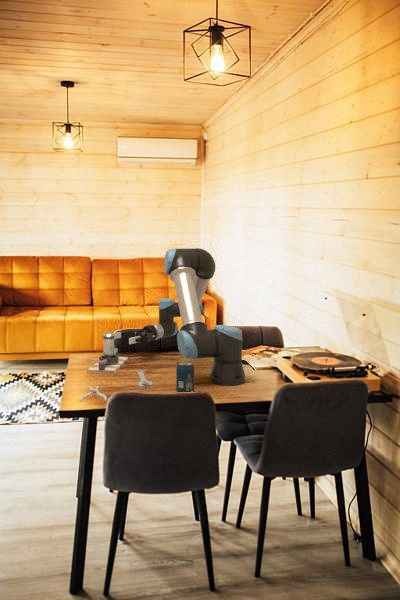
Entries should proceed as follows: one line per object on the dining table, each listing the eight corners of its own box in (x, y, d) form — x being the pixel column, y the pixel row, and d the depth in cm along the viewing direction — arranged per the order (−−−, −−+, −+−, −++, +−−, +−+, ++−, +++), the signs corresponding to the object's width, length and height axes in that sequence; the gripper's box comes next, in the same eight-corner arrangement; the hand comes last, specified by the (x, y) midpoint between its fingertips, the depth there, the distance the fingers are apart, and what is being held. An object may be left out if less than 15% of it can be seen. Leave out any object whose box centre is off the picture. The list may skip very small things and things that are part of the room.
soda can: (181, 389, 231) (182, 360, 229) (197, 392, 227) (197, 362, 226) (172, 394, 225) (173, 364, 223) (188, 396, 221) (188, 366, 220)
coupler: (113, 364, 263) (112, 334, 260) (101, 364, 263) (101, 334, 261) (116, 361, 268) (115, 332, 266) (105, 361, 268) (104, 332, 266)
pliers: (79, 398, 214) (81, 386, 229) (79, 402, 214) (81, 390, 229) (106, 397, 216) (106, 385, 230) (106, 401, 216) (106, 389, 231)
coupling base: (113, 373, 252) (113, 361, 251) (87, 372, 254) (87, 360, 253) (128, 358, 278) (128, 348, 277) (104, 357, 279) (104, 347, 278)
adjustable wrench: (136, 373, 255) (136, 369, 255) (150, 372, 256) (150, 368, 256) (137, 389, 231) (137, 385, 231) (153, 389, 232) (153, 385, 231)
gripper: (170, 343, 277) (138, 351, 261) (135, 336, 293) (102, 342, 278) (170, 328, 276) (137, 335, 260) (135, 321, 292) (102, 327, 276)
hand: (119, 339), depth 269 cm, fingers open, 13 cm apart
